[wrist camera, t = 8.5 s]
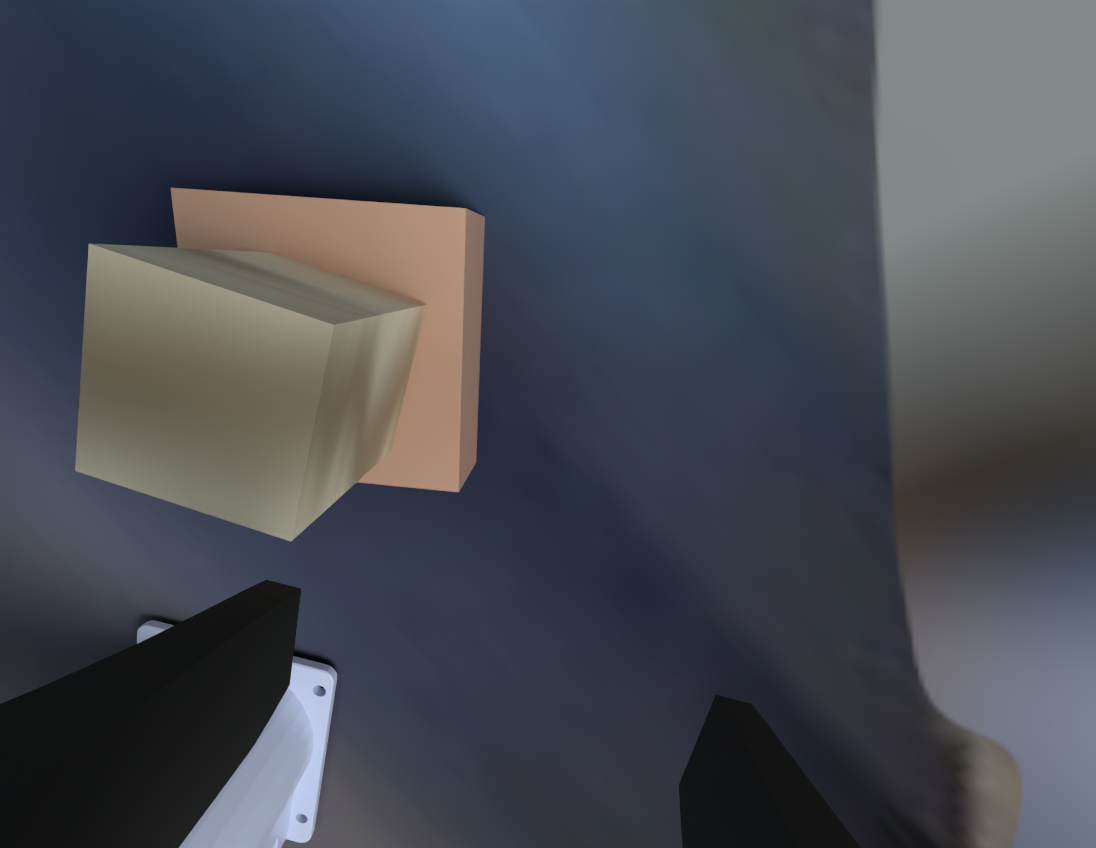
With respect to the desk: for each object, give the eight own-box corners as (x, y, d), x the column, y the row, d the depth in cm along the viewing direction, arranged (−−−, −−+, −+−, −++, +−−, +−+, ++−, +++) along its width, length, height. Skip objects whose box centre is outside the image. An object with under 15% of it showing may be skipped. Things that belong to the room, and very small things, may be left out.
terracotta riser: (478, 458, 19) (458, 492, 16) (260, 437, 20) (203, 467, 17) (487, 218, 17) (466, 208, 14) (240, 200, 17) (170, 187, 14)
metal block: (390, 451, 16) (291, 541, 11) (245, 404, 16) (74, 470, 11) (426, 304, 15) (334, 325, 10) (269, 252, 15) (88, 243, 9)
